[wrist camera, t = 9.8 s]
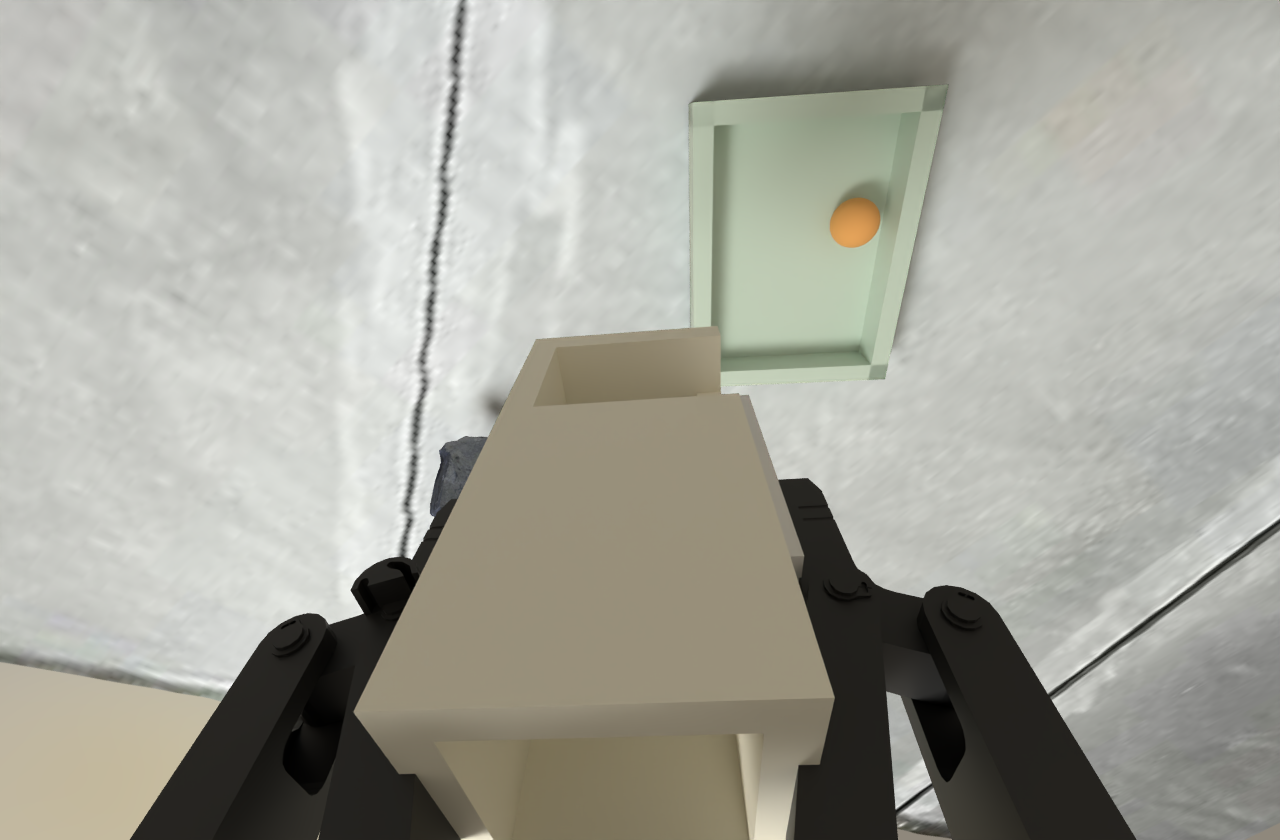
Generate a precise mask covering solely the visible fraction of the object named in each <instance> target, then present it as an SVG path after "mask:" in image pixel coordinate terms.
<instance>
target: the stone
mask: <svg viewBox="0 0 1280 840" xmlns="http://www.w3.org/2000/svg"><path fill="white" fill-rule="evenodd" d="M487 438H488V437H468V436H465V437H462V438H461V439H459V440H458V441H452V442H447V443H445V445H444V446H443V447H442V449H441V450H439V454H440V457H441V464H440V468H439V470H438V473H437V477H436V480H435V484H434V489H433V493H432V499H431V503H430V514H431V515H432V516H434V517H435V516H436V514H437V512H438V511H439V510H440V509H441V508H442V507H443V506H444V505H445V504H446V503H448V502H449V501H450V500H451V499H458V498H459V496H460V493H461V491H462V489H463V487H464V485H465V483H466V481H467V479H468V477H469V475H470V473H471V471H472V469H473V467H474V465H475V463H476V461H477V459H478V457H479V455H480V453H481V451H482V449H483V447H484V445H485V443H486V440H487Z"/></svg>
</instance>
